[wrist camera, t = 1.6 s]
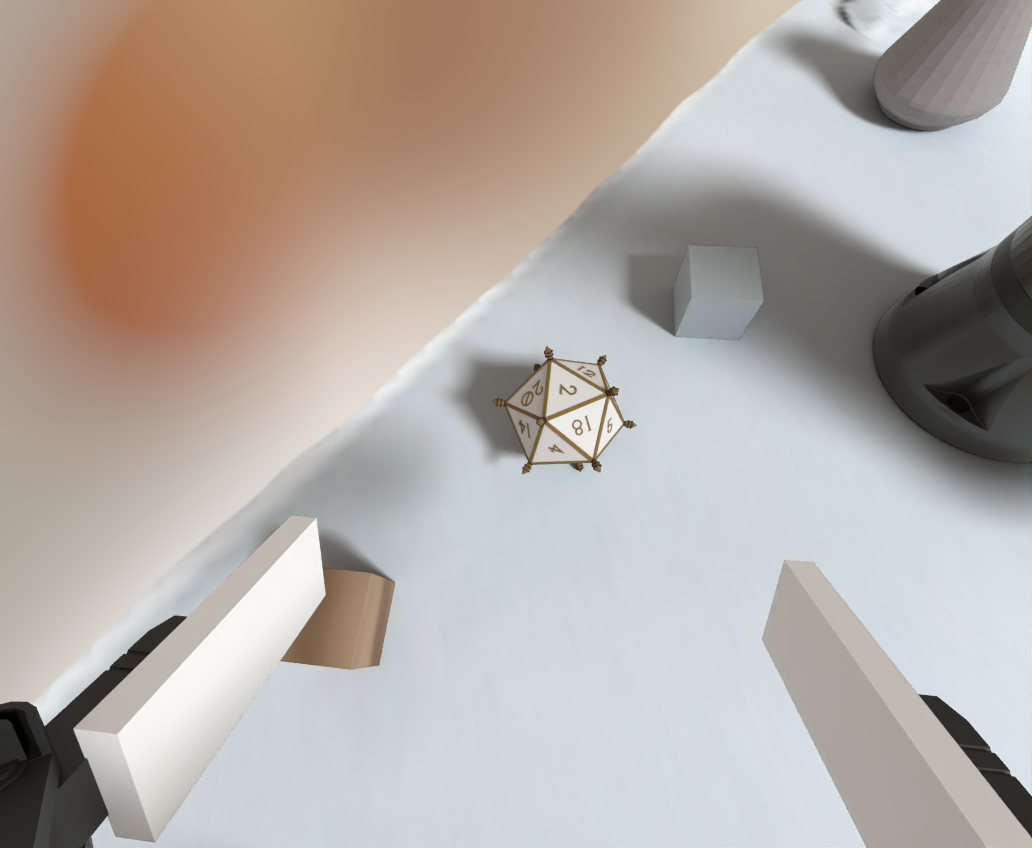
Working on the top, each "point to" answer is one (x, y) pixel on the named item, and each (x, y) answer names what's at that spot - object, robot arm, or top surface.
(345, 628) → the walnut block
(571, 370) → the game die
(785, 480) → the top surface
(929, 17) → the coffee pot
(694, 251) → the light grey cube
